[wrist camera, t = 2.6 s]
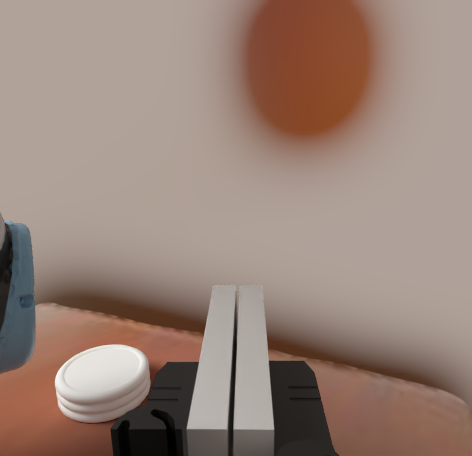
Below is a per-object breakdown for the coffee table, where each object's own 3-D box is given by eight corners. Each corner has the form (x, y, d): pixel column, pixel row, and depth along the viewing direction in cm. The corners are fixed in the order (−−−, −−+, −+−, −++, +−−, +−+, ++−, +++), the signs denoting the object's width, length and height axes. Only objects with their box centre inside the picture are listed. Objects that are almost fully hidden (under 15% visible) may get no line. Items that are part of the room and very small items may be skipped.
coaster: (96, 361, 54) (93, 337, 53) (166, 376, 51) (164, 350, 50) (37, 414, 45) (32, 385, 44) (118, 435, 42) (115, 405, 41)
